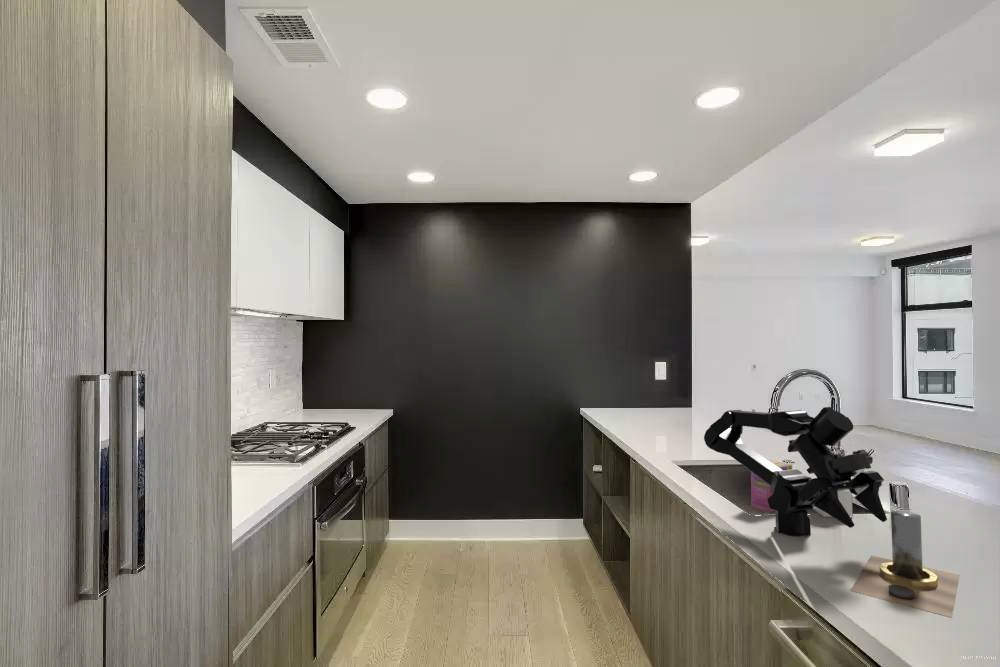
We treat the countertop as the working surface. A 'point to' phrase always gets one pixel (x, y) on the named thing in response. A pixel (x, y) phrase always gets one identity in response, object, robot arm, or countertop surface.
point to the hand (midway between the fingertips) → (869, 523)
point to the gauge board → (908, 589)
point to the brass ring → (914, 583)
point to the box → (764, 489)
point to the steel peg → (906, 544)
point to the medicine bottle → (845, 500)
